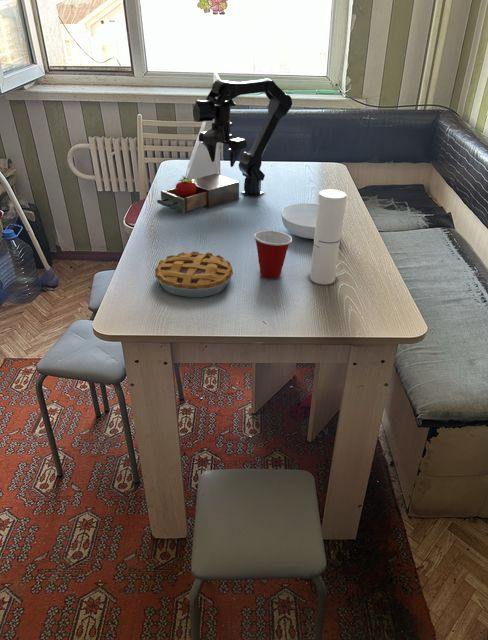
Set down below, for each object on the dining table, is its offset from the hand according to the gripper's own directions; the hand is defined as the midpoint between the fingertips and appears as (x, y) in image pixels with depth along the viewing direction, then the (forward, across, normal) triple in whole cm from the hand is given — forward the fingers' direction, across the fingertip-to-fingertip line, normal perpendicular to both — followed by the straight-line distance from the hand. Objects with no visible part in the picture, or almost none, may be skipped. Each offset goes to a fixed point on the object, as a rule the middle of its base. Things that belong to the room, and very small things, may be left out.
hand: (222, 164), depth 198 cm
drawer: (+12, -4, -18) cm, 22 cm away
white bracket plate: (+13, -21, +11) cm, 27 cm away
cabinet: (+13, -2, -3) cm, 14 cm away
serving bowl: (+13, +44, -7) cm, 47 cm away
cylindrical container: (+13, +65, -33) cm, 74 cm away
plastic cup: (+13, +52, -41) cm, 67 cm away
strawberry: (+11, -4, -16) cm, 20 cm away
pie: (+13, +38, -58) cm, 71 cm away
